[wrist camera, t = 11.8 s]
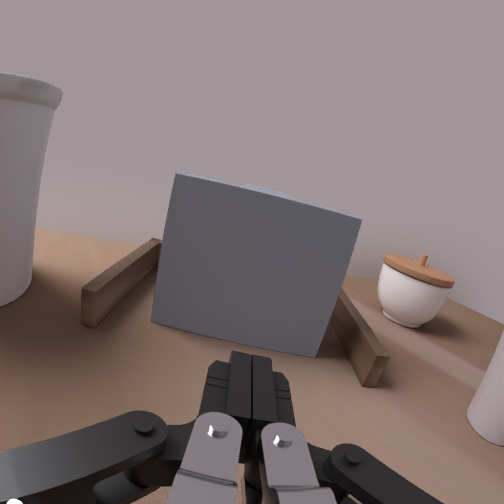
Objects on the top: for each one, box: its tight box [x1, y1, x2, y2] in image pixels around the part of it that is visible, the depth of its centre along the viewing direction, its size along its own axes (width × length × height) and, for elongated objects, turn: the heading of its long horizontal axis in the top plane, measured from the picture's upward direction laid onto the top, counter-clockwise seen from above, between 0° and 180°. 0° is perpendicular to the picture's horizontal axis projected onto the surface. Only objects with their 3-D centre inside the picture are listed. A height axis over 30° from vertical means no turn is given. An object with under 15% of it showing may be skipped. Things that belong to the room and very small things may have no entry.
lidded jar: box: [378, 253, 455, 328], centre depth 38 cm, size 11×11×9 cm
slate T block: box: [151, 173, 362, 358], centre depth 29 cm, size 14×12×12 cm
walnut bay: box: [81, 238, 390, 387], centre depth 29 cm, size 23×18×3 cm
